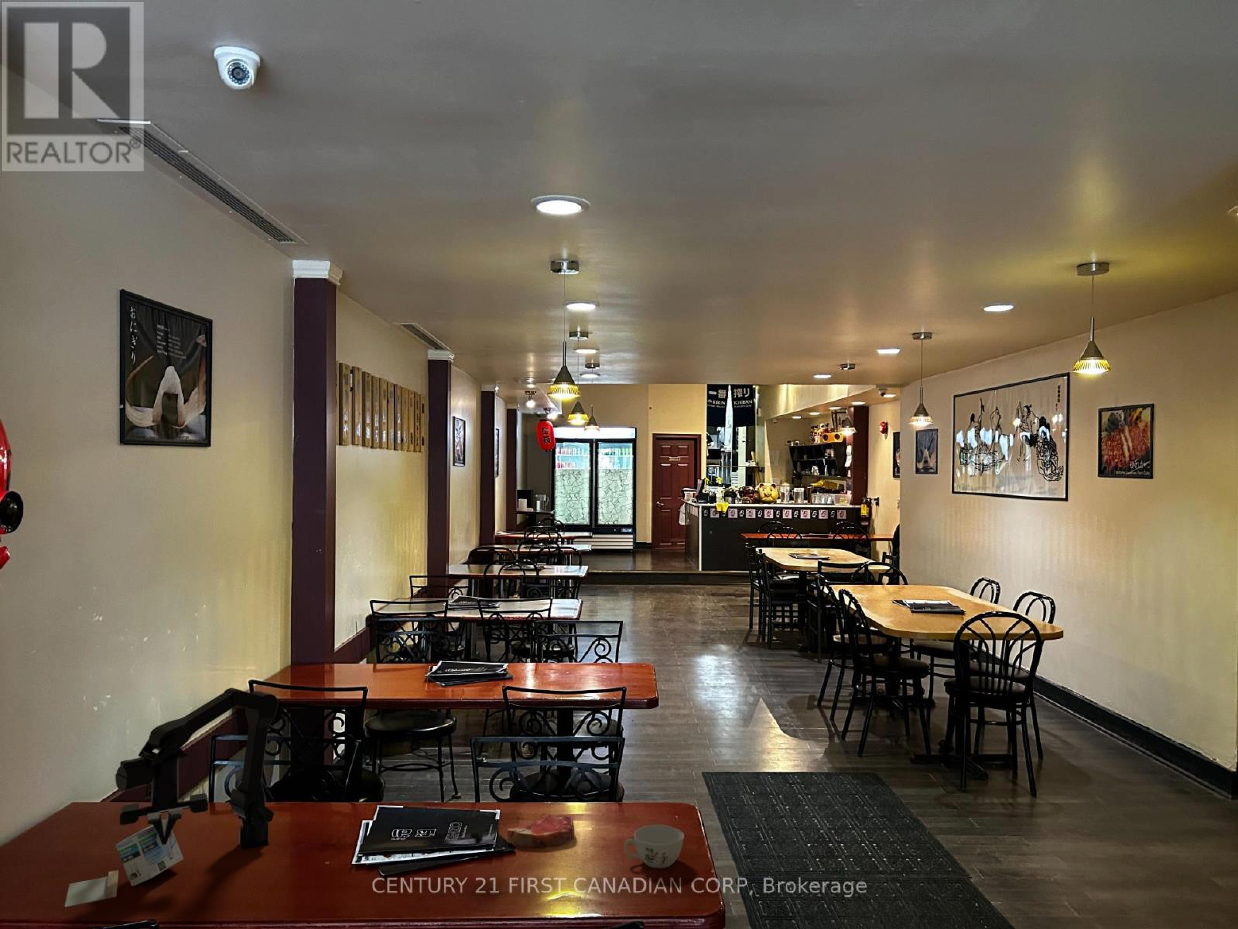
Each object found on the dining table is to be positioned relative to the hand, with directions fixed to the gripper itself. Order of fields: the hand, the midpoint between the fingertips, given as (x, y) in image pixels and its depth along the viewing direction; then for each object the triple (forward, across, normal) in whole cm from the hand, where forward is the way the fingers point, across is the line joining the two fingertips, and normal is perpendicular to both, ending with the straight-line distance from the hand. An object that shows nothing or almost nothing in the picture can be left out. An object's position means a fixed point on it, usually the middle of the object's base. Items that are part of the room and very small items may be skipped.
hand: (164, 844), depth 206 cm
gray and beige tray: (+8, +10, 0) cm, 13 cm away
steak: (+9, -89, +25) cm, 93 cm away
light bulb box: (+7, +1, 0) cm, 7 cm away
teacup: (+8, -108, +50) cm, 119 cm away
